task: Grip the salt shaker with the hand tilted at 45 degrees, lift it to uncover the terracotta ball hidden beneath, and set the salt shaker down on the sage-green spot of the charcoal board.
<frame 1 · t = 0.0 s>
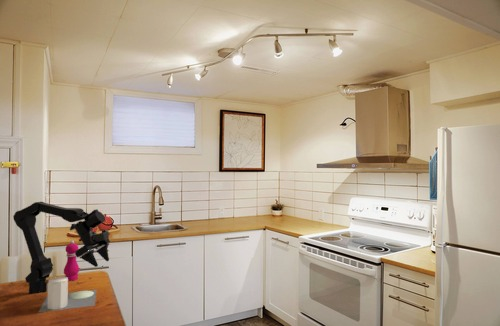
hand: (102, 263, 153), 15 cm above the table, tool tilted 35°, fingers open, 9 cm apart
pepper mill: (71, 279, 177), on the table
board: (70, 302, 146), on the table
salt shaker: (57, 306, 139), point 1 cm above the table, touching board
ball: (57, 302, 139), point 2 cm above the table, touching board
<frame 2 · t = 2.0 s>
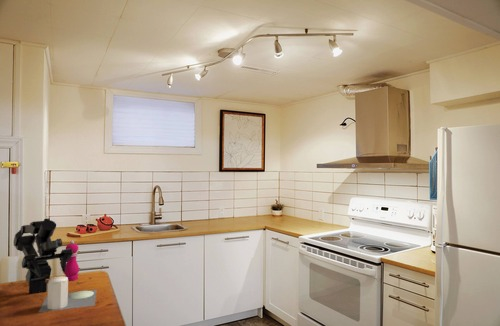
hand: (52, 274, 144), 12 cm above the table, tool tilted 45°, fingers open, 9 cm apart
nothing on the table moved.
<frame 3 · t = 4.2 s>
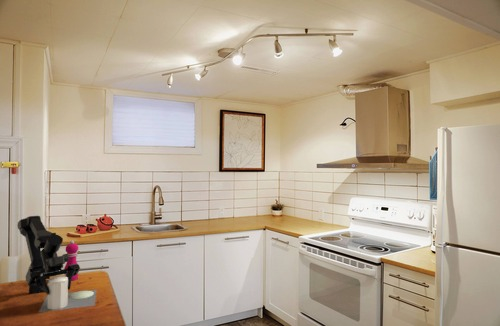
hand: (59, 291, 138), 7 cm above the table, tool tilted 45°, fingers closed on salt shaker, 7 cm apart
salt shaker: (57, 306, 139), point 1 cm above the table, touching board, gripper
everything else where it was.
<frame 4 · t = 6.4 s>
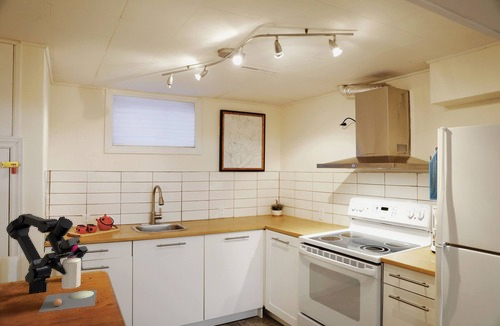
hand: (73, 271, 145), 13 cm above the table, tool tilted 45°, fingers closed on salt shaker, 7 cm apart
salt shaker: (71, 285, 145), point 7 cm above the table, touching gripper
everything else where it was.
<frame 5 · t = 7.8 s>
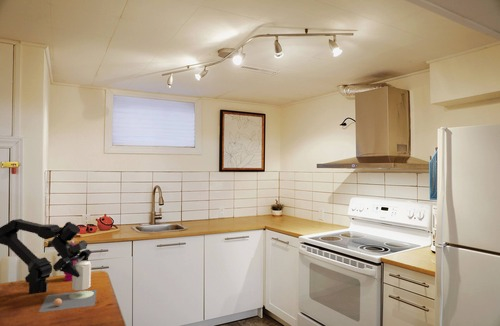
hand: (84, 273, 152), 10 cm above the table, tool tilted 45°, fingers closed on salt shaker, 7 cm apart
salt shaker: (81, 287, 152), point 4 cm above the table, touching gripper
everything else where it was.
when the fingers open (8 cm above the table, at t = 8.9 s): salt shaker stays where it is, resting on board.
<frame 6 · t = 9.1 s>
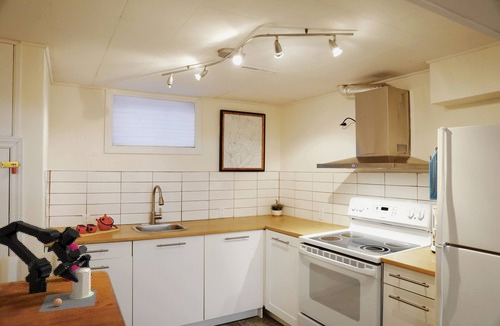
hand: (84, 278, 152), 8 cm above the table, tool tilted 45°, fingers open, 9 cm apart
salt shaker: (81, 294, 152), point 1 cm above the table, touching board
everything else where it was.
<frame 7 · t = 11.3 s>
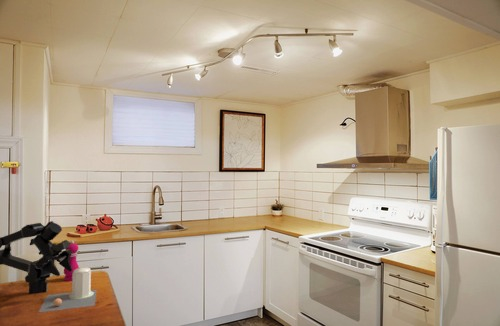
hand: (65, 273, 154), 10 cm above the table, tool tilted 40°, fingers open, 9 cm apart
nothing on the table moved.
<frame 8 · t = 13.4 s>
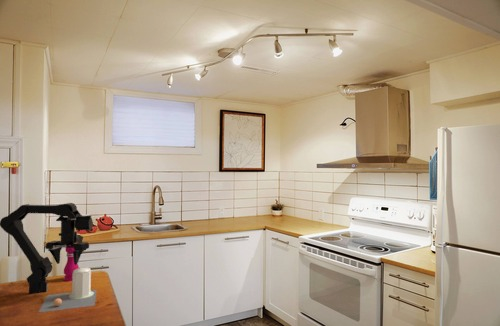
hand: (67, 264, 158), 13 cm above the table, tool pointing down, fingers open, 9 cm apart
nothing on the table moved.
at the end: salt shaker 0.0 cm from the target spot, point 1.1 cm above the table; salt shaker tilted 0°; the gripper is holding nothing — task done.
